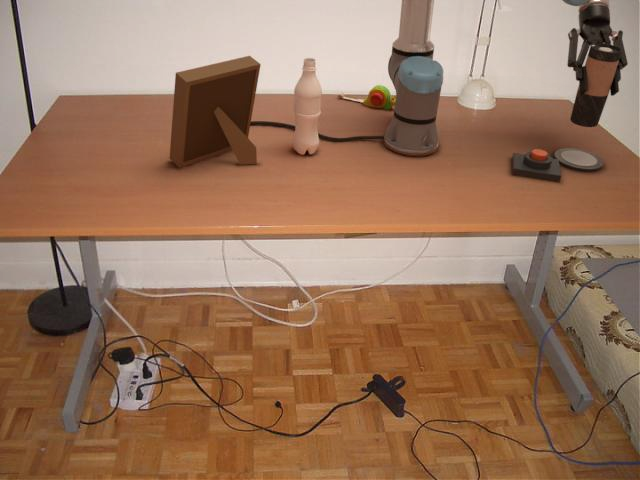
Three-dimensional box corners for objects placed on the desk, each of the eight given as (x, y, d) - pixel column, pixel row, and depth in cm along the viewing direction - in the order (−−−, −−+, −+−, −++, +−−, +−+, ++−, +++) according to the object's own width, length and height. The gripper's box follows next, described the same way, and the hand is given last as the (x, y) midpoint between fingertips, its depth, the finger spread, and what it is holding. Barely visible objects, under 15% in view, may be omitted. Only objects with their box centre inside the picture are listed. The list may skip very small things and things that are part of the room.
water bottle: (322, 149, 175) (328, 58, 161) (311, 159, 170) (316, 66, 156) (299, 143, 177) (303, 53, 164) (287, 152, 172) (290, 61, 158)
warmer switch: (512, 175, 168) (515, 161, 166) (511, 159, 177) (515, 145, 174) (559, 182, 166) (563, 168, 164) (556, 165, 175) (560, 152, 172)
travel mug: (600, 129, 168) (625, 54, 157) (570, 125, 169) (592, 50, 158) (596, 118, 174) (619, 45, 163) (567, 114, 176) (588, 41, 164)
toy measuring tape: (392, 113, 199) (395, 93, 195) (335, 100, 205) (337, 80, 202) (399, 107, 204) (402, 87, 200) (343, 94, 210) (345, 75, 206)
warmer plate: (555, 168, 173) (556, 164, 173) (552, 148, 184) (553, 144, 183) (605, 175, 171) (606, 172, 171) (599, 155, 182) (600, 151, 181)
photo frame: (169, 161, 164) (162, 66, 150) (237, 139, 177) (235, 49, 163) (204, 183, 155) (199, 84, 141) (272, 158, 168) (273, 65, 155)
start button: (530, 160, 168) (532, 154, 167) (530, 154, 171) (531, 148, 170) (546, 162, 168) (547, 156, 167) (545, 156, 171) (547, 150, 170)
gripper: (624, 20, 172) (630, 100, 168) (550, 17, 171) (554, 97, 167) (639, 5, 165) (646, 88, 161) (561, 1, 164) (566, 84, 160)
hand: (599, 92), depth 164 cm, fingers closed on travel mug, 7 cm apart
